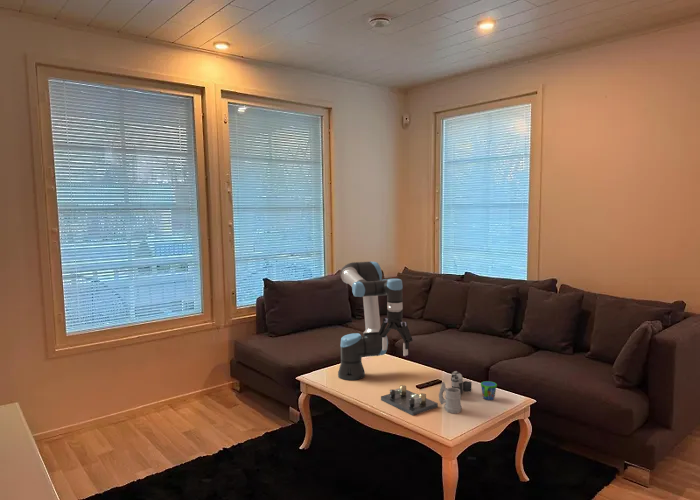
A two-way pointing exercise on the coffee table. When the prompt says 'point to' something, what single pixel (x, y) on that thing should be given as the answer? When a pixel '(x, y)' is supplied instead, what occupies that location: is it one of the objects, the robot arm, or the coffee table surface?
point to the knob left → (398, 391)
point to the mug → (450, 399)
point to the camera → (460, 383)
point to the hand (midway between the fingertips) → (395, 352)
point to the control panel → (403, 403)
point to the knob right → (417, 400)
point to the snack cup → (488, 390)
